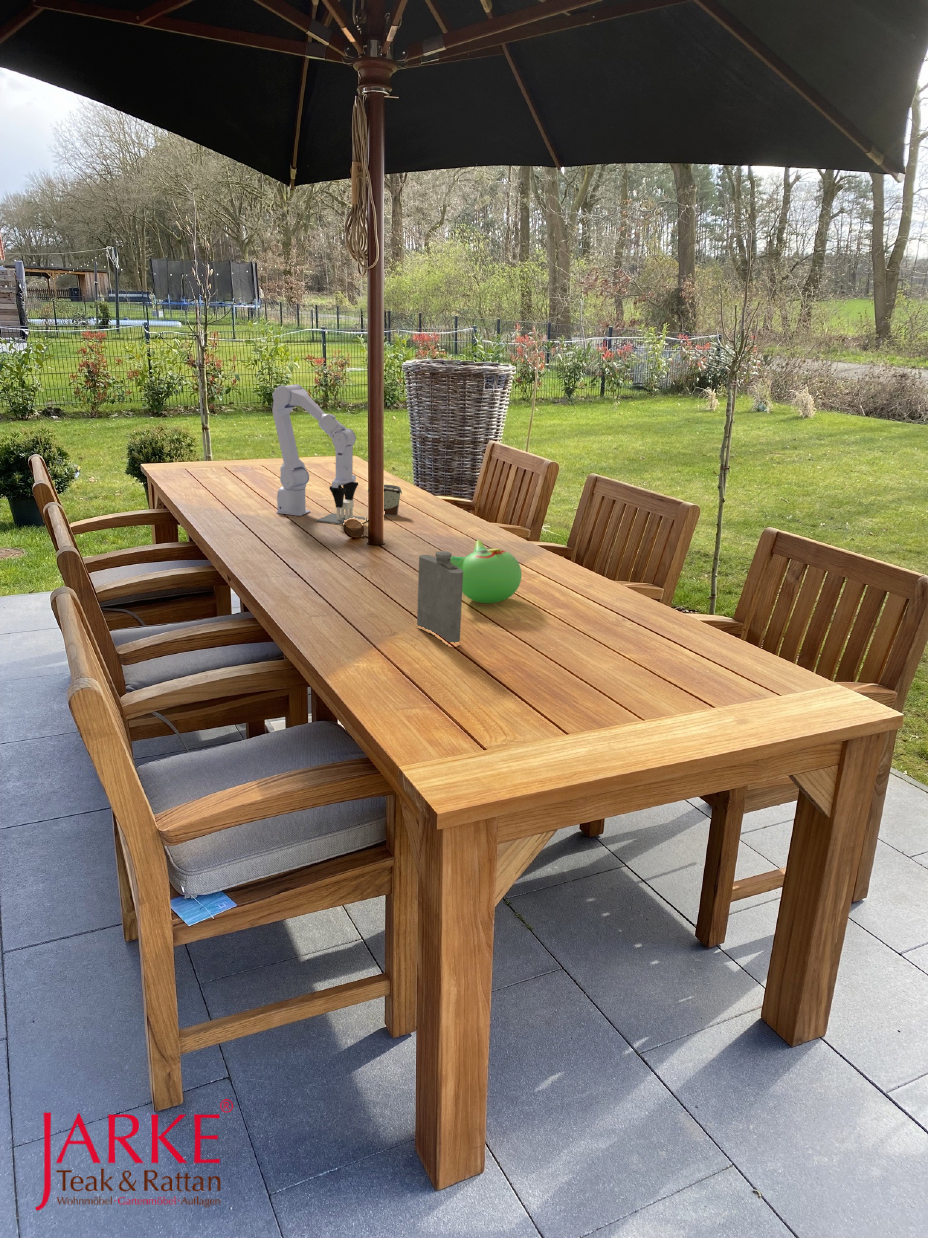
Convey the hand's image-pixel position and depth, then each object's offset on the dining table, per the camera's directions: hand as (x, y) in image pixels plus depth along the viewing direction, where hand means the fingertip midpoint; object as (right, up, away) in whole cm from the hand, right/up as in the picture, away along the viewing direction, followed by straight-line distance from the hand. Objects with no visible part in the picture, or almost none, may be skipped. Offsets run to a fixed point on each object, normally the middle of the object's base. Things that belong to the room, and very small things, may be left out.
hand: (344, 505), depth 308 cm
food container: (+13, -1, +16) cm, 21 cm away
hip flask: (+36, -43, -101) cm, 115 cm away
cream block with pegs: (0, -5, +2) cm, 5 cm away
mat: (0, -5, +2) cm, 6 cm away
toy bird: (+47, -35, -74) cm, 94 cm away
